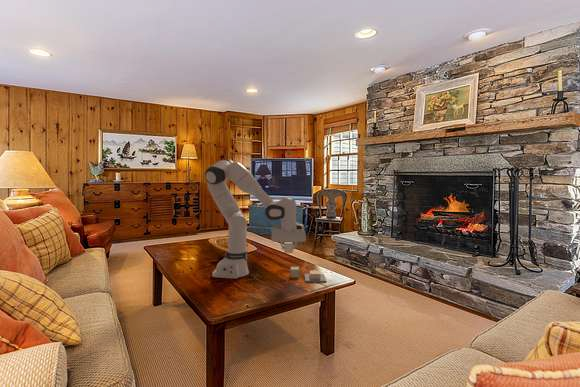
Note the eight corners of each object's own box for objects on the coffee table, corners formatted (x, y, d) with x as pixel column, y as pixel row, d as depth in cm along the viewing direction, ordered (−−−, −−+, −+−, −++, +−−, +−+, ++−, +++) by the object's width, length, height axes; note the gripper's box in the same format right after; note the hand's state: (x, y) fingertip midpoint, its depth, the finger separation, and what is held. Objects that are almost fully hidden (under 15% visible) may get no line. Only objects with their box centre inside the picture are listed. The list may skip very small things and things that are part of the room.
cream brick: (284, 252, 178) (284, 244, 177) (284, 250, 183) (284, 242, 182) (292, 252, 178) (292, 244, 177) (292, 250, 183) (292, 242, 182)
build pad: (305, 282, 179) (305, 275, 178) (304, 275, 191) (304, 269, 190) (326, 282, 179) (326, 275, 178) (323, 275, 191) (323, 269, 190)
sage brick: (290, 277, 187) (290, 269, 187) (290, 274, 192) (290, 266, 192) (299, 277, 187) (299, 269, 187) (298, 274, 192) (298, 266, 192)
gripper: (270, 226, 176) (270, 250, 177) (306, 226, 176) (306, 250, 177) (271, 224, 182) (271, 247, 183) (305, 224, 182) (305, 247, 183)
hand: (288, 249), depth 180 cm, fingers closed on cream brick, 5 cm apart
